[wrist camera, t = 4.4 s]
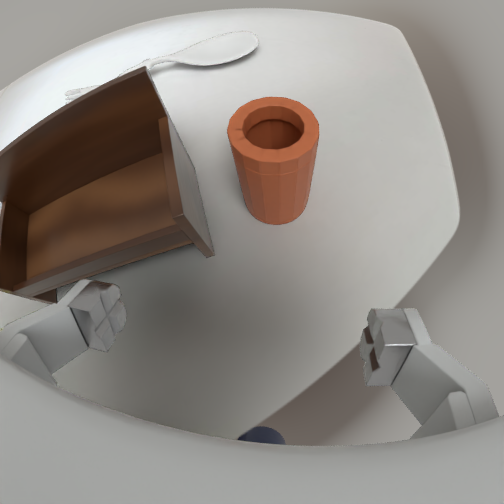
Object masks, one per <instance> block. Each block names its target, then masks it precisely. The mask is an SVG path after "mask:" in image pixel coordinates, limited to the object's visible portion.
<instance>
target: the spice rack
mask: <svg viewBox="0 0 504 504" xmlns="http://www.w3.org/2000/svg"><path fill="white" fill-rule="evenodd" d="M0 202H1V203H2V207H1V213H0V291H2V292H6V293H9V294H13V295H16V296H20V297H24V298H28V299H31V300H35V301H39V302H43V303H47V304H53V303H56V304H57V297H56V288H58V287H61V286H64V285H67V284H70V283H72V282H75V281H78V280H81V279H84V278H87V277H90V276H93V275H96V274H99V273H102V272H105V271H107V270H110V269H113V268H116V267H119V266H122V265H125V264H128V263H132V262H135V261H138V260H141V259H144V258H147V257H150V256H153V255H156V254H159V253H162V252H165V251H169V250H172V249H175V248H178V247H181V246H184V245H188V244H191V243H194V244H195V245H196V246H197V247H198V249H199V250H200V251H201V252H202V253H203V254H204V255H205V257H206V258H207V257H211V256H214V255H215V254H214V250H213V246H212V242H211V238H210V234H209V230H208V226H207V221H206V217H205V213H204V208H203V204H202V200H201V195H200V191H199V186H198V182H197V177H196V173H195V168H194V166H193V164H192V162H191V160H190V158H189V156H188V154H187V151H186V149H185V147H184V145H183V143H182V141H181V139H180V137H179V135H178V133H177V131H176V129H175V126H174V124H173V122H172V120H171V118H170V116H169V114H168V112H167V110H166V108H165V105H164V103H163V101H162V99H161V97H160V95H159V93H158V91H157V88H156V86H155V84H154V82H153V80H152V78H151V76H150V73H149V71H148V69H147V67H146V66H143V67H140V68H138V69H136V70H133V71H131V72H129V73H126V74H124V75H122V76H120V77H117V78H115V79H113V80H111V81H109V82H107V83H105V84H103V85H101V86H99V87H97V88H95V89H93V90H91V91H89V92H87V93H86V94H84V95H82V96H80V97H78V98H77V99H75V100H73V101H71V102H70V103H68V104H66V105H65V106H63V107H61V108H60V109H58V110H57V111H55V112H53V113H52V114H50V115H49V116H47V117H46V118H44V119H43V120H41V121H40V122H38V123H37V124H35V125H34V126H33V127H31V128H30V129H28V130H27V131H26V132H24V133H23V134H22V135H20V136H19V137H18V138H16V139H15V140H14V141H13V142H11V143H10V144H9V145H8V146H6V147H5V148H4V149H3V150H1V151H0Z"/></svg>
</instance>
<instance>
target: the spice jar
mask: <svg viewBox="0 0 504 504" xmlns="http://www.w3.org/2000/svg"><path fill="white" fill-rule="evenodd" d="M227 134H228V138H229V142H230V145H231V149H232V153H233V157H234V161H235V165H236V169H237V173H238V177H239V181H240V185H241V189H242V192H243V196H244V200H245V203H246V206H247V208H248V210H249V212H250V213H251V214H252V215H253V216H254V217H255V218H256V219H258V220H260V221H262V222H264V223H267V224H273V225H279V224H285V223H288V222H291V221H293V220H294V219H296V218H297V217H298V216H300V215H301V213H302V212H303V211H304V209H305V207H306V204H307V202H308V197H309V192H310V186H311V181H312V175H313V170H314V164H315V158H316V152H317V146H318V140H319V124H318V121H317V119H316V118H315V116H314V114H313V113H312V111H311V110H309V109H308V108H307V107H305V106H304V105H303V104H301V103H300V102H297V101H294V100H291V99H288V98H284V97H265V98H260V99H256V100H253V101H250V102H248V103H247V104H245V105H243V106H241V107H240V108H239V109H238V110H237V111H236V112H235V113H234V115H233V116H232V117H231V119H230V120H229V125H228V129H227Z"/></svg>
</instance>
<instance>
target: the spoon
mask: <svg viewBox="0 0 504 504" xmlns="http://www.w3.org/2000/svg"><path fill="white" fill-rule="evenodd" d="M258 44H259V39H258V37H257V35H256V34H254V33H252V32H249V31H238V32H231V33H226V34H222V35H219V36H216V37H213V38H210V39H207V40H204V41H201V42H199V43H196V44H194V45H192V46H190V47H188V48H185V49H183V50H181V51H179V52H177V53H174V54H170V55H166V56H162V57H158V58H154V59H146V60H144V61H143V62H142V63H140V64H138V65H136V66H134V67H132V68H130V69H127V70H126V71H124V72H123V73H121V74H120V75H119V76H118V77H120V76H122V75H124V74H126V73H129V72H131V71H133V70H136V69H138V68H140V67H143V66H146V67H147V69H148V70H149V69H151V68H152V67H153V66H154V65H156V64H159V63H164V62H179V63H185V64H191V65H201V66H207V65H217V64H222V63H226V62H230V61H233V60H236V59H239V58H241V57H243V56H245V55H247V54H248V53H250V52H252V51H253V50H254V49H255V48H256V47H257V46H258ZM97 87H99V85H98V86H91V87H87V88H81V89H74V90H70V91H67V92H66V93H65V95H66V96H69V97H67V98H66V100H70V101H68V102H66V104H68V103H70V102H71V101H73V100H75V99H77V98H78V97H80V96H82V95H84V94H86V93H87V92H89V91H91V90H93V89H95V88H97ZM70 95H71V96H70ZM72 99H73V100H72Z"/></svg>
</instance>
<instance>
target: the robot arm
mask: <svg viewBox="0 0 504 504" xmlns="http://www.w3.org/2000/svg"><path fill="white" fill-rule="evenodd" d="M121 295H122V294H121V291H120V288H119V287H118V286H117V285H115V284H110V283H105V282H100V281H93V280H88V279H81V280H80V281H79V282H78V283H77V284H76V285H75V286H74V287H73V288H72V289H71V290H70V291H69V292H68V293H67V294H66V295H65V296H64V297H63V298H62V299H61V300H60V301H59V302H58V303H57V304H56V303H53V304H51V305H48V306H46V307H44V308H42V309H40V310H37V311H35V312H33V313H31V314H28V315H26V316H24V317H22V318H20V319H18V320H15V321H13V322H11V323H9V324H7V325H6V326H5V327H4V328H3V329H2V330H1V331H0V504H504V415H503V416H500V417H499V415H498V412H497V409H496V406H495V404H494V401H493V399H492V396H491V393H490V391H489V388H488V386H487V384H486V383H484V382H483V381H482V380H481V379H480V378H478V377H477V376H476V375H475V374H474V373H472V372H471V371H470V370H469V369H467V368H466V367H465V366H464V365H462V364H461V363H460V362H459V361H457V360H456V359H455V358H454V357H453V356H451V355H450V354H449V353H447V352H446V351H445V350H444V349H442V348H441V347H440V346H439V345H437V344H433V343H432V341H431V339H430V337H429V334H428V332H427V330H426V328H425V325H424V323H423V321H422V319H421V317H420V315H419V313H418V311H417V310H416V309H414V308H410V309H372V308H371V310H370V312H369V314H368V317H367V321H368V326H367V327H366V328H365V329H363V332H362V336H361V341H360V354H361V358H362V359H363V360H364V361H365V362H366V363H365V366H364V368H363V372H364V378H365V384H366V386H391V388H392V389H393V390H394V391H395V392H396V394H397V395H398V396H399V397H400V399H401V400H402V401H403V403H404V404H405V405H406V406H407V408H408V409H409V410H410V411H411V412H412V414H413V415H414V416H415V417H416V419H417V420H418V421H419V422H420V424H421V425H422V426H421V427H420V428H419V429H418V430H417V431H416V432H415V433H414V434H413V435H412V437H411V438H410V439H409V440H402V441H395V442H387V443H377V444H366V445H350V446H294V445H277V444H265V443H256V442H247V441H239V440H232V439H226V438H220V437H214V436H208V435H203V434H198V433H193V432H189V431H184V430H180V429H176V428H172V427H168V426H164V425H160V424H157V423H153V422H150V421H146V420H143V419H140V418H137V417H133V416H130V415H127V414H124V413H121V412H118V411H116V410H113V409H110V408H107V407H105V406H102V405H100V404H97V403H94V402H92V401H90V400H87V399H85V398H82V397H80V396H78V395H75V394H73V393H71V392H69V391H67V390H65V389H62V388H60V387H58V386H57V382H56V380H55V379H54V378H53V376H52V375H51V374H52V373H54V372H55V371H57V370H58V369H60V368H61V367H63V366H64V365H65V364H67V363H68V362H70V361H71V360H73V359H74V358H76V357H77V356H78V355H80V354H81V353H83V352H84V351H86V350H87V349H88V347H89V348H92V349H96V350H100V351H103V352H108V350H109V349H110V347H111V346H112V344H113V343H114V341H115V340H116V338H115V334H116V333H118V332H120V331H122V329H123V327H124V326H125V323H126V319H127V311H126V308H125V305H124V304H123V303H122V301H121V300H120V297H121Z"/></svg>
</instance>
